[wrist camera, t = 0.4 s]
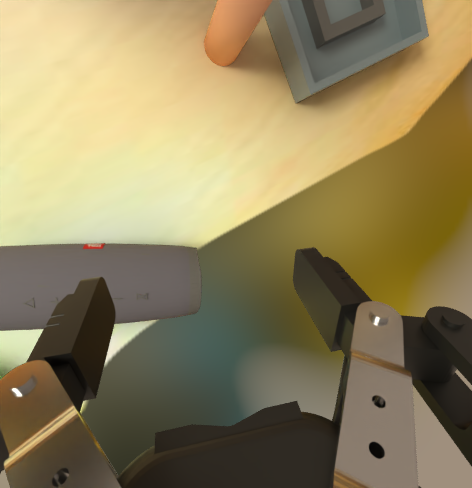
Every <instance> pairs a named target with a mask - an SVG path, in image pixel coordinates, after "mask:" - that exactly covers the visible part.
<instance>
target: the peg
mask: <svg viewBox="0 0 472 488" xmlns="http://www.w3.org/2000/svg"><path fill="white" fill-rule="evenodd" d="M271 2H272V0H217V3H216V6H215V9H214V13H213V16H212V19H211V22H210V25H209V28H208V31H207V34H206V37H205V41H204V46H205V51H206V54H207V56H208V57H209V58H210V60H211V61H212V62H214V63H215V64H217V65H220V66H227V65H230V64H231V63H233V62H234V60H235V59H236V57H237V56H238V54H239V53H240V51H241V50H242V48H243V46H244V45H245V43H246V42H247V40H248V38H249V37H250V35H251V34H252V32H253V31H254V29H255V27H256V26H257V24H258V23H259V21H260V19H261V18H262V16H263V15H264V13H265V11H266V10H267V8H268V7H269V5H270V4H271Z"/></svg>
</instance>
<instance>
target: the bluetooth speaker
mask: <svg viewBox="0 0 472 488" xmlns="http://www.w3.org/2000/svg"><path fill="white" fill-rule="evenodd" d="M96 277H103V278H104V279H105V281H106V284H107V287H108V289H109V292H110V295H111V298H112V300H113V303H114V306H115V312H116V318H115V323H114V324H120V323H130V322H140V321H149V320H157V319H165V318H174V317H180V316H186V315H190V314H194V313H197V312H198V310H199V308H200V304H201V287H202V286H201V270H200V265H199V261H198V254H197V248H192V247H185V246H170V245H143V244H105V243H99V244H51V245H24V246H1V247H0V331H6V330H32V329H44V328H45V327H46V324H47V322H48V320H49V319H50V318H51V315H52V313H53V311H54V309H55V307H56V305H57V304H58V303H59V302H60V301H61V300H62V299H63V298H64V297H66V296H67V295H68V294H74V292H75V290H76V288H77V286H78V284H79V282H80V280H82V279H89V278H96Z"/></svg>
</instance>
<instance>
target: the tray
mask: <svg viewBox="0 0 472 488" xmlns="http://www.w3.org/2000/svg"><path fill="white" fill-rule="evenodd" d="M264 16H265V18H266V21H267V24H268V27H269V30H270V33H271V35H272V38H273V41H274V44H275V47H276V49H277V52H278V55H279V58H280V61H281V64H282V66H283V69H284V72H285V75H286V78H287V80H288V83H289V86H290V89H291V92H292V94H293V97H294V100H295V103H298V102H300V101H302V100H304V99H306V98H308V97H310V96H312V95H314V94H316V93H318V92H320V91H322V90H324V89H326V88H328V87H330V86H332V85H334V84H336V83H338V82H340V81H342V80H344V79H346V78H348V77H350V76H352V75H354V74H356V73H358V72H360V71H362V70H364V69H366V68H368V67H370V66H372V65H374V64H376V63H378V62H380V61H382V60H384V59H386V58H388V57H390V56H392V55H394V54H396V53H398V52H400V51H402V50H404V49H406V48H408V47H410V46H412V45H413V44H415V43H417V42H419V41H421V40H423V39H424V38H426V37H428V36H429V35H428V29H427V24H426V19H425V13H424V8H423V3H422V0H272V2H271V4H270V5H269V7H268V8H267V10H266V11H265V13H264Z"/></svg>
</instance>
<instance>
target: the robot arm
mask: <svg viewBox="0 0 472 488" xmlns="http://www.w3.org/2000/svg"><path fill="white" fill-rule="evenodd" d="M293 282H294V287H295V290H296V292H297V294H298V296H299V297H300V299H301V301H302V302H303V304H304V306H305V308H306V309H307V311H308V313H309V315H310V316H311V318H312V320H313V322H314V323H315V325H316V327H317V328H318V330H319V332H320V334H321V335H322V337H323V339H324V341H325V342H326V344H327V346H328V347H329V349H330V351H331V352H332V351H337V350H342V351H343V353H344V355H345V356H344V360H343V366H342V372H341V377H340V383H339V388H338V394H337V400H336V405H335V410H334V414H333V419H332V421H331V420H329V419H327V418H324V417H322V416H319V415H316V414H312V413H307V412H301V411H300V408H299V405H298V403H297V401H294V402H290V403H285V404H281V405H277V406H272V407H268V408H264V409H262V410H260V411H258V412H256V413H255V414H253V415H251V416H249V417H247V418H246V419H244V420H242V421H240V422H238V423H236V424H235V425H232V426H228V427H227V426H209V425H188V426H183V427H179V428H175V429H170V430H166V431H162V432H157V433H155V446H153V447H151V448H149V449H148V450H146V451H145V452H143V453H142V454H141V455H139V456H138V457H137V458H136V459H135V460H134V461H132V462H131V463H130V464H129V465H128V466H127V468H125V469H124V470H123V472H122V473H121V474H120V475H119V476H118V475H117V473H116V471H115V470H114V468H113V466H112V465H111V463H110V461H109V460H108V458H107V457H106V455H105V453H104V452H103V450H102V449H101V447H100V445H99V443H98V442H97V440H96V438H95V437H94V435H93V433H92V431H91V430H90V428H89V426H88V425H87V423H86V421H85V420H84V418H83V416H82V415H81V413H80V410H81V406H82V403H83V401H84V400H89V399H94V398H96V395H97V392H98V388H99V384H100V380H101V376H102V372H103V368H104V363H105V359H106V355H107V351H108V347H109V343H110V339H111V335H112V331H113V327H114V323H115V318H116V312H115V306H114V303H113V300H112V298H111V295H110V292H109V289H108V287H107V284H106V281H105V279H104V278H103V277H96V278H89V279H82V280H80V282H79V284H78V286H77V288H76V290H75V292H74V294H68V295H67V296H66V297H64V298H63V299H62V300H61V301H60V302H59V303H58V304H57V305H56V307H55V309H54V311H53V313H52V315H51V318H50V319H49V320H48V322H47V324H46V327H45V328H44V330H43V332H42V334H41V336H40V337H39V339H38V341H37V343H36V345H35V347H34V349H33V351H32V353H31V355H30V356H29V358H28V360H27V362H26V363H24V364H22V365H20V366H18V367H16V368H14V369H13V370H11V371H10V372H9V373H7V374H6V375H5V376H4V377H3V378H2V379H1V380H0V473H1V471H2V470H4V469H5V472H6V475H7V479H8V482H9V485H10V488H421V487H420V486H418V474H417V456H416V439H415V422H414V405H413V388H412V384H413V385H414V387H415V388H416V390H417V391H418V392H419V394H420V395H421V397H422V398H423V399H424V401H425V402H426V404H427V405H428V406H429V408H430V409H431V410H432V412H433V413H434V415H435V416H436V417H437V419H438V420H439V422H440V423H441V424H442V426H443V427H444V429H445V430H446V431H447V433H448V434H449V435H450V437H451V438H452V440H453V441H454V443H455V444H456V445H457V447H458V448H459V449H460V451H461V452H462V454H463V455H464V456H465V458H466V459H467V460H468V462H469V463H470V465H471V466H472V391H471V390H470V389H469V388H468V386H467V385H466V384H465V383H464V382H463V381H462V380H461V379H460V377H459V376H458V375H457V374H456V373H455V371H456V370H457V369H458V370H459V371H460V373H461V374H462V375H463V376H464V377H465V378H466V379H467V380H468V381H469V382H470V383H471V385H472V319H471V318H469V317H468V316H467V315H465V314H463V313H461V312H459V311H457V310H454V309H451V308H448V307H433V308H430V309H429V310H428V311H427V313H426V316H425V318H424V317H412V316H411V317H410V316H401V315H400V314H399V313H398V312H397V311H395V309H393V308H392V307H390V306H388V305H386V304H383V303H380V302H375V301H372V300H371V299H370V298H369V297H368V296H367V295H366V293H365V292H364V291H363V290H362V289H361V288H360V287H359V286H358V285H357V283H356V282H355V281H354V280H353V279H351V277H350V276H349V275H348V273H347V272H345V270H344V269H343V268H342V267H341V266H340V265H339V263H337V262H336V261H334V260H332V259H330V258H329V257H323V256H322V255H321V254H320V253H319V252H318V250H317V249H316V248H314V247H312V248H305V249H298V250H297V251H296V253H295V264H294V275H293Z"/></svg>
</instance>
